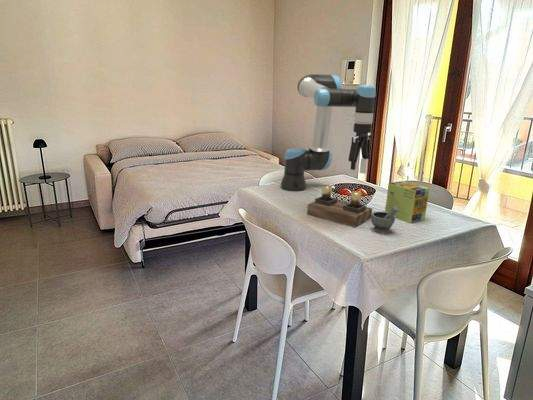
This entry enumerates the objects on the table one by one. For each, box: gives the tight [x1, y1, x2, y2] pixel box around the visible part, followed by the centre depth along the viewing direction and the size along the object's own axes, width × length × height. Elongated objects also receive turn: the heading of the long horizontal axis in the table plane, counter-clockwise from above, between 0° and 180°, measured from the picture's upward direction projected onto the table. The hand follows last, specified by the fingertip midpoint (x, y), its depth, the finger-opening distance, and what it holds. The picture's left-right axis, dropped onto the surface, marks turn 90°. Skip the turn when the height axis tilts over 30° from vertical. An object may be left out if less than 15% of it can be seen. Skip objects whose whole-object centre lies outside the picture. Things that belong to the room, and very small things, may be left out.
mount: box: [306, 195, 373, 228], centre depth 177 cm, size 16×25×7 cm, turn 50°
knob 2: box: [349, 190, 362, 205], centre depth 170 cm, size 4×4×5 cm
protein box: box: [384, 180, 431, 224], centre depth 178 cm, size 10×15×16 cm
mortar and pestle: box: [370, 206, 399, 234], centre depth 160 cm, size 11×9×12 cm
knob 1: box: [321, 184, 333, 198], centre depth 179 cm, size 4×4×5 cm
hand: (357, 174), depth 167 cm, fingers open, 9 cm apart
